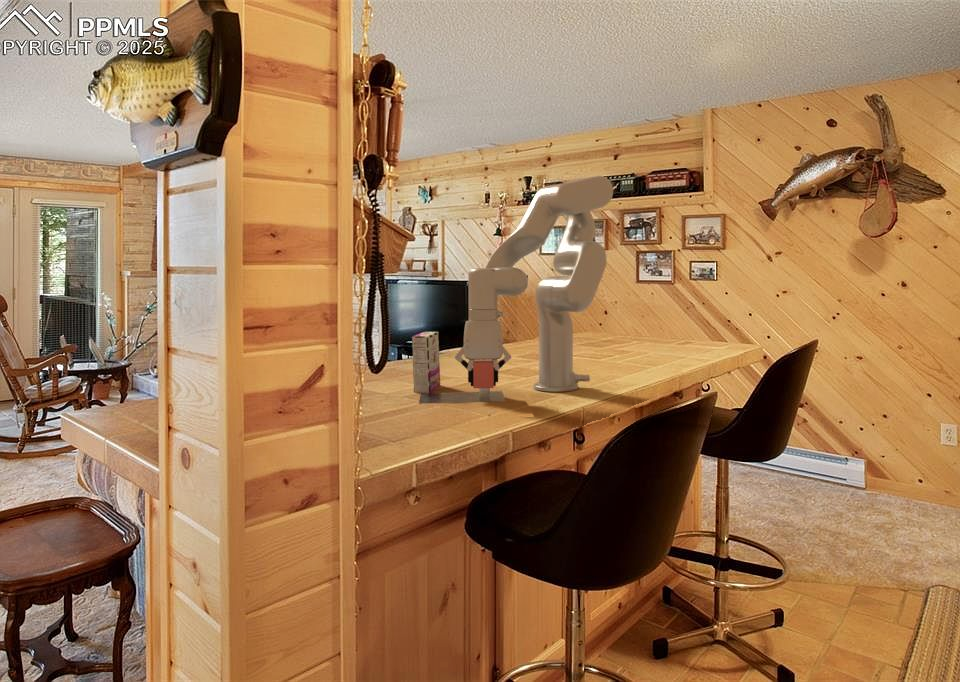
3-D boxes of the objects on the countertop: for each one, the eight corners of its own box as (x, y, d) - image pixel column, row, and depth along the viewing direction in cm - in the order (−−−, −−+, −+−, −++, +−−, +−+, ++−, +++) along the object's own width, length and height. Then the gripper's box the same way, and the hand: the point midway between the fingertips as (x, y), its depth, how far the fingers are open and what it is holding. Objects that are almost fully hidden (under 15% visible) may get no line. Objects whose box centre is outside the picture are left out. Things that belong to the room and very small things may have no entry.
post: (501, 394, 178) (501, 373, 177) (505, 404, 165) (505, 381, 164) (421, 396, 177) (420, 375, 176) (418, 406, 164) (418, 383, 163)
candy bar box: (424, 387, 189) (422, 331, 188) (440, 387, 188) (439, 331, 187) (412, 395, 179) (410, 335, 177) (430, 395, 178) (428, 336, 176)
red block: (492, 384, 173) (492, 360, 173) (493, 388, 168) (493, 362, 168) (472, 384, 173) (472, 360, 172) (473, 388, 168) (473, 363, 167)
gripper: (514, 314, 173) (514, 382, 175) (450, 315, 172) (450, 383, 174) (517, 316, 165) (516, 387, 167) (450, 317, 165) (450, 388, 167)
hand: (483, 384), depth 171 cm, fingers closed on red block, 5 cm apart
